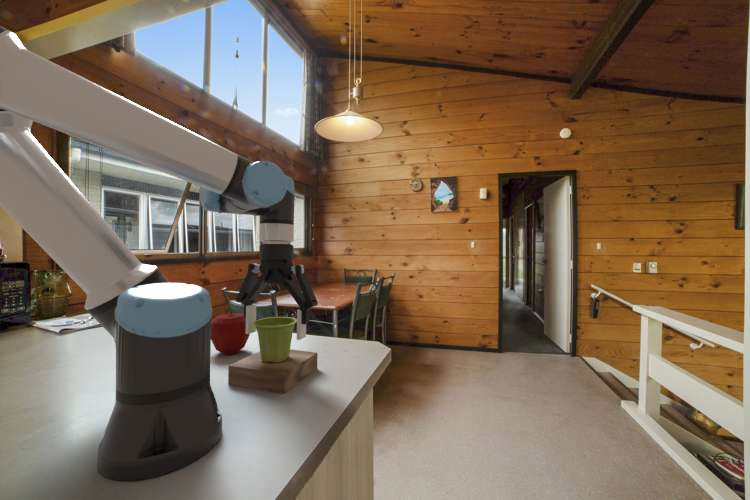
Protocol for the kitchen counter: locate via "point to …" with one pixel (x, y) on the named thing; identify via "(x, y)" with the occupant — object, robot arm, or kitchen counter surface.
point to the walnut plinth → (272, 371)
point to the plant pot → (275, 337)
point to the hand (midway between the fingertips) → (275, 335)
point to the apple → (229, 333)
